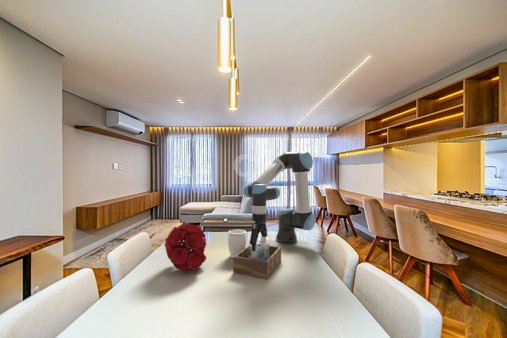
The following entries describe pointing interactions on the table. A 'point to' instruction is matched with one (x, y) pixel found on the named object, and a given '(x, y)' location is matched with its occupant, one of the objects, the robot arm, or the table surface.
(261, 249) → the light bulb box
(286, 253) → the table surface
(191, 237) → the bouquet
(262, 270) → the walnut crate
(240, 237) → the jar
